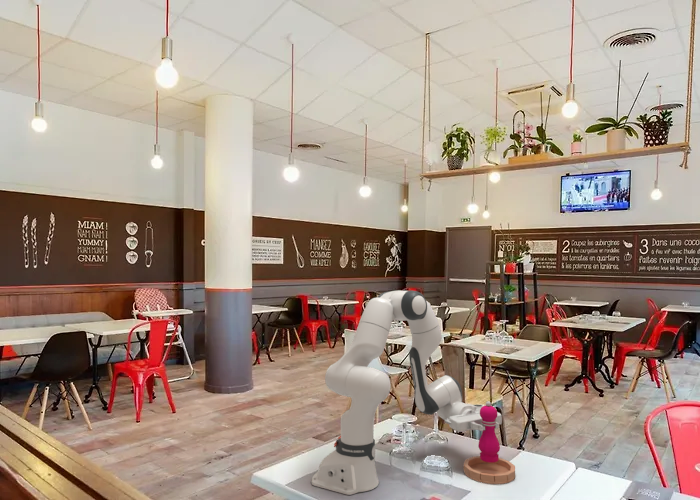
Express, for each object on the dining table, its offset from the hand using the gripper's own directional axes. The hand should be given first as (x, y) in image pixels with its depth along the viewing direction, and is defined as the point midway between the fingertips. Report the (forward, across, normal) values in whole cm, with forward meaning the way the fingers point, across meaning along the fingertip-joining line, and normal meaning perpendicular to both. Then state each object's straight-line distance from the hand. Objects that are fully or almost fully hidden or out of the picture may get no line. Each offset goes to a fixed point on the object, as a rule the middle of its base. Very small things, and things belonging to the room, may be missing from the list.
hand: (490, 427), depth 170 cm
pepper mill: (-1, 0, +12) cm, 12 cm away
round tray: (-1, 0, +16) cm, 16 cm away
